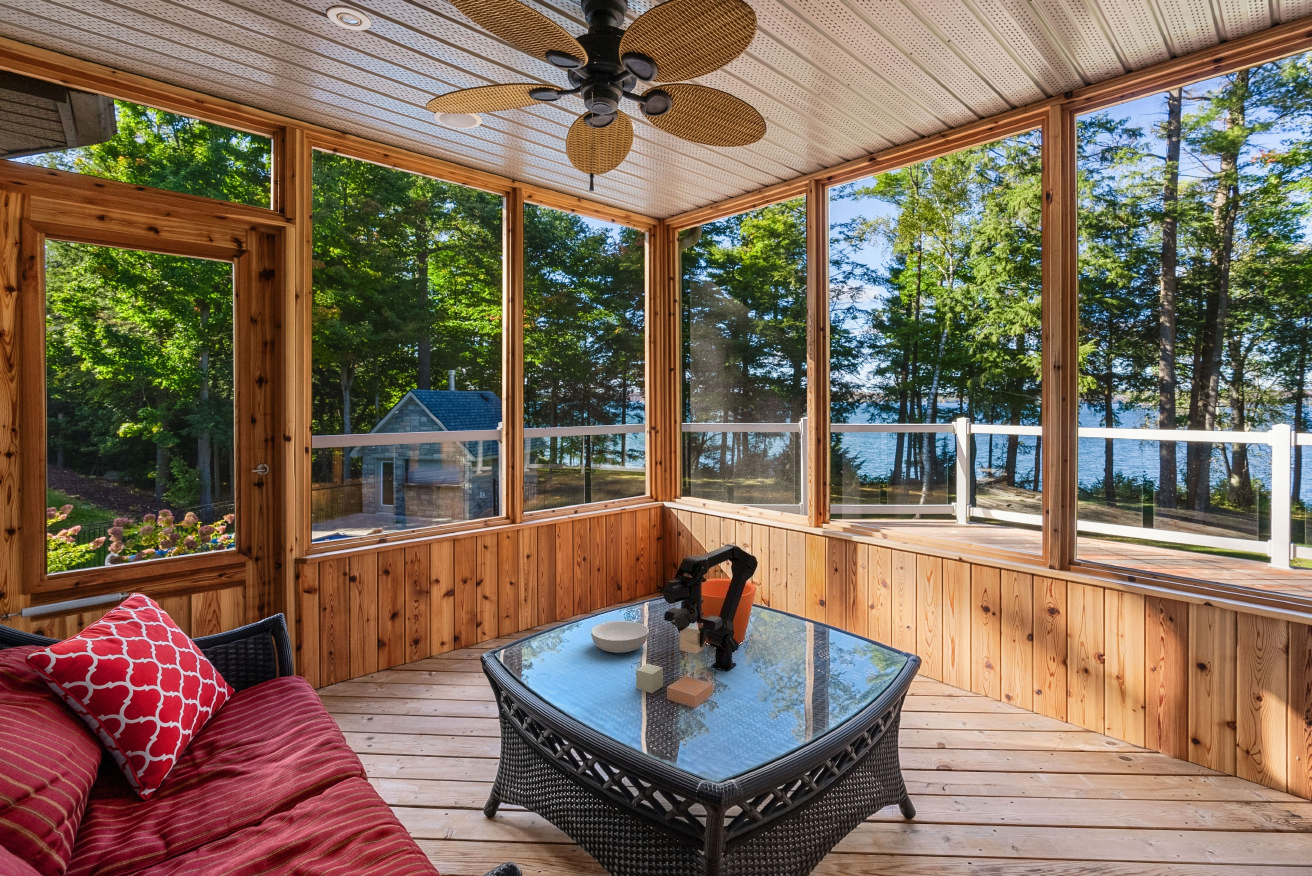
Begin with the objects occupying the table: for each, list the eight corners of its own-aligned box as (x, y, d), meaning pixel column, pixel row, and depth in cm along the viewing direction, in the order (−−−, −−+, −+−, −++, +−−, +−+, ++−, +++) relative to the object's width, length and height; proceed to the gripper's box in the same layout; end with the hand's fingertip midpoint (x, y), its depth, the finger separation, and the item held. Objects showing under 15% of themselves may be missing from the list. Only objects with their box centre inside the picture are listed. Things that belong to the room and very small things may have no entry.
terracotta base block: (685, 688, 203) (685, 675, 203) (712, 696, 197) (712, 683, 197) (666, 700, 195) (666, 687, 194) (695, 709, 189) (695, 695, 189)
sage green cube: (647, 681, 207) (647, 663, 206) (662, 686, 203) (662, 667, 203) (636, 688, 202) (636, 669, 201) (652, 693, 198) (652, 674, 198)
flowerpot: (691, 626, 258) (691, 577, 257) (755, 629, 254) (755, 579, 253) (686, 650, 233) (686, 595, 232) (756, 653, 229) (756, 598, 228)
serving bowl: (659, 644, 238) (659, 626, 238) (626, 664, 221) (626, 644, 220) (613, 634, 249) (613, 616, 249) (579, 651, 232) (579, 633, 231)
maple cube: (689, 644, 213) (689, 626, 212) (705, 647, 209) (705, 629, 209) (679, 649, 208) (679, 631, 207) (696, 653, 204) (696, 635, 204)
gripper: (654, 598, 206) (654, 646, 207) (706, 608, 196) (706, 659, 197) (673, 590, 215) (673, 636, 216) (723, 599, 205) (723, 648, 206)
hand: (692, 645), depth 208 cm, fingers closed on maple cube, 6 cm apart
